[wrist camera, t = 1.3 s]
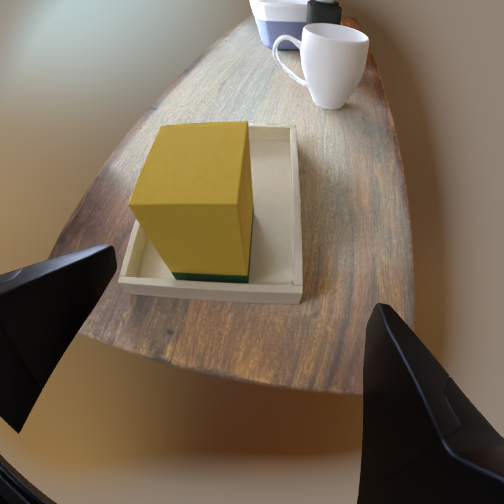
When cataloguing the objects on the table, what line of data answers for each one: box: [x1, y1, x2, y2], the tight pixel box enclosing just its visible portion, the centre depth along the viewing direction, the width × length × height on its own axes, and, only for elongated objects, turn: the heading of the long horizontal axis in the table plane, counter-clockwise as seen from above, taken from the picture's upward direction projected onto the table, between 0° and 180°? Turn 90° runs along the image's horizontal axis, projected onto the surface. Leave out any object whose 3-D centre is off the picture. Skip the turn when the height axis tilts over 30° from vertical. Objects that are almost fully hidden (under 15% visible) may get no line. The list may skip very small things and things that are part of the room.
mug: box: [273, 23, 369, 110], centre depth 31 cm, size 12×8×11 cm
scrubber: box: [129, 121, 254, 283], centre depth 20 cm, size 7×6×10 cm
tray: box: [118, 124, 303, 304], centre depth 26 cm, size 19×14×2 cm
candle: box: [306, 0, 342, 25], centre depth 31 cm, size 5×5×25 cm
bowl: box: [250, 0, 310, 50], centre depth 44 cm, size 15×15×11 cm
